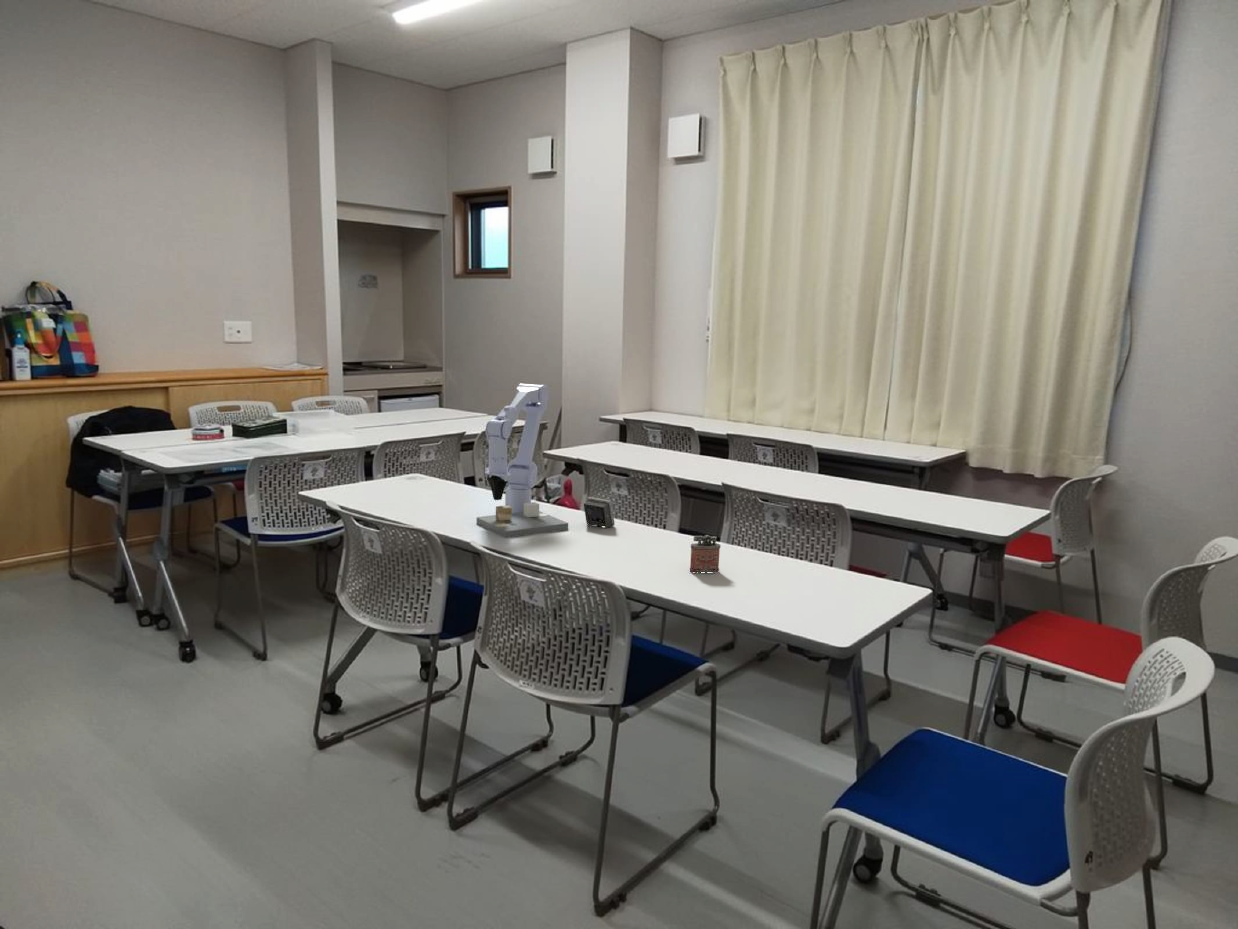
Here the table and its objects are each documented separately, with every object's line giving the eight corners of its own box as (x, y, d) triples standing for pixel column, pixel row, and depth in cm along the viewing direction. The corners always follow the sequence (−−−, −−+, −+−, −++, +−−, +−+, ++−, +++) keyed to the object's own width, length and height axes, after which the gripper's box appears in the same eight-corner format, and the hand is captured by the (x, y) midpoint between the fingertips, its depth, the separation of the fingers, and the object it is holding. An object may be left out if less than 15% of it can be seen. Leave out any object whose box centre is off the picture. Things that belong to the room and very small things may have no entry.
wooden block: (495, 518, 262) (495, 506, 261) (507, 517, 264) (507, 505, 263) (500, 520, 259) (500, 508, 259) (511, 519, 262) (511, 507, 261)
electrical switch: (615, 526, 266) (614, 499, 264) (606, 531, 262) (605, 503, 260) (591, 522, 271) (590, 495, 269) (582, 526, 267) (581, 499, 265)
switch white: (523, 515, 267) (523, 503, 267) (534, 514, 270) (534, 502, 269) (528, 517, 265) (528, 505, 264) (539, 516, 267) (539, 504, 267)
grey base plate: (476, 523, 264) (476, 516, 264) (536, 515, 277) (536, 509, 276) (505, 537, 248) (505, 531, 248) (568, 529, 261) (568, 522, 260)
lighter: (716, 569, 224) (718, 533, 222) (720, 573, 221) (722, 537, 219) (688, 570, 223) (689, 534, 221) (691, 574, 219) (693, 537, 218)
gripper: (476, 454, 265) (476, 496, 268) (497, 462, 254) (496, 505, 256) (496, 453, 269) (495, 494, 272) (517, 460, 258) (516, 503, 260)
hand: (497, 499), depth 264 cm, fingers closed
